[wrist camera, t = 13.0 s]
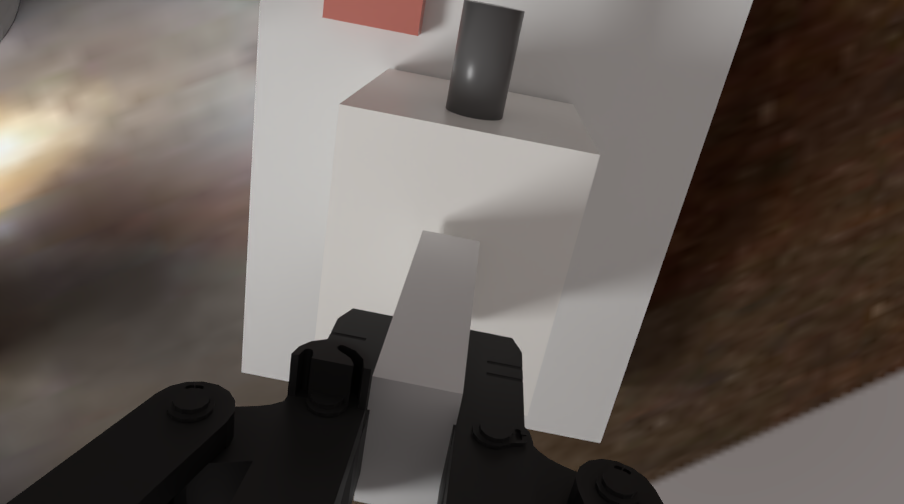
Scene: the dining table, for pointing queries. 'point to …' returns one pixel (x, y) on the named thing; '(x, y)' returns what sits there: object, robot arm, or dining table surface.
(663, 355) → the dining table surface
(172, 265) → the dining table surface
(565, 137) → the plug
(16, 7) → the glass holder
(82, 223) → the dining table surface
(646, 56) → the socket
